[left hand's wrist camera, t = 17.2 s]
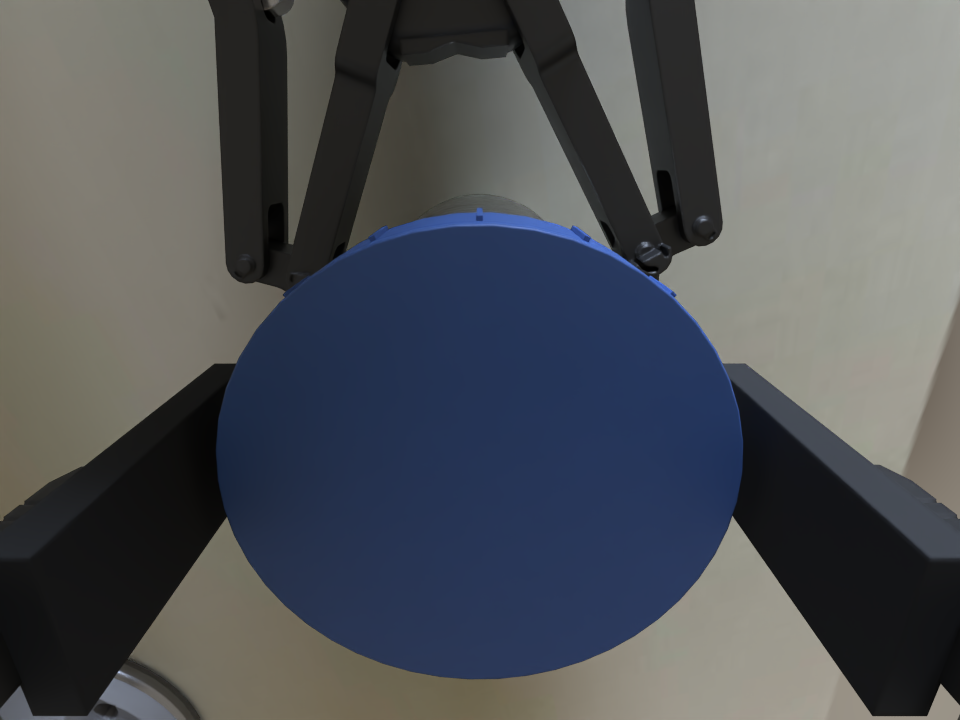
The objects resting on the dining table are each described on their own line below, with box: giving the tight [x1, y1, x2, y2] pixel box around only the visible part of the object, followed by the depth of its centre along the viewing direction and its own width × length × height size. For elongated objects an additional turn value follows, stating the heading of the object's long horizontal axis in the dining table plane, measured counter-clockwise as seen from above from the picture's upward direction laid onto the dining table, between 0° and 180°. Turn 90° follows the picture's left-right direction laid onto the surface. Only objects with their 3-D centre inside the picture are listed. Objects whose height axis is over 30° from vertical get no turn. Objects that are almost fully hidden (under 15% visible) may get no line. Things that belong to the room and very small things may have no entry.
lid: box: [216, 208, 743, 679], centre depth 11 cm, size 10×10×2 cm
